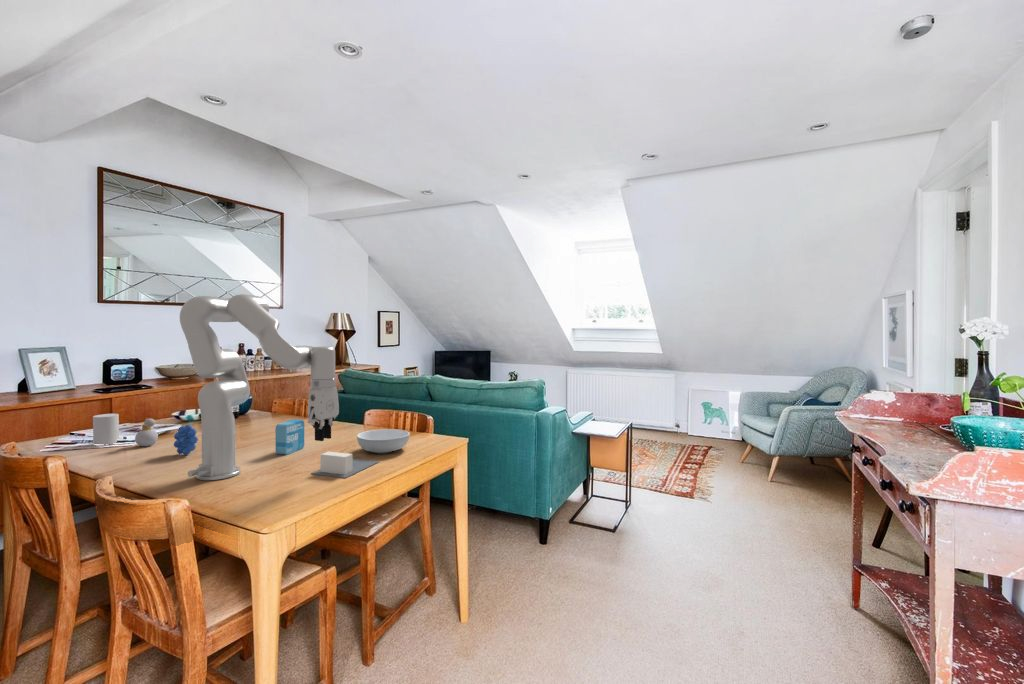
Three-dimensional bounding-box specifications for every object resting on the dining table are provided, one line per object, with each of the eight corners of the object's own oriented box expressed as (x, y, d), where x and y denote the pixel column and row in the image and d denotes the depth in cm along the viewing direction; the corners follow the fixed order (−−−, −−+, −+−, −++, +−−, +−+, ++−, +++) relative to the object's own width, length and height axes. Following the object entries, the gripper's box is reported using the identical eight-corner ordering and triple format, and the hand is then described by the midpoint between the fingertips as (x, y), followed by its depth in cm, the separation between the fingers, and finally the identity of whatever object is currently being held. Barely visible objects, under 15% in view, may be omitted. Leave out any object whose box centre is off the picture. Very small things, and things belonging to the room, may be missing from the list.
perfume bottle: (149, 443, 197) (148, 414, 196) (166, 444, 194) (166, 416, 194) (130, 447, 190) (130, 418, 189) (148, 449, 187) (148, 419, 187)
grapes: (207, 453, 181) (207, 423, 181) (190, 458, 175) (190, 426, 175) (186, 450, 185) (185, 421, 185) (168, 455, 179) (168, 424, 178)
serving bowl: (420, 448, 194) (420, 432, 194) (382, 460, 176) (382, 442, 175) (384, 441, 204) (384, 426, 204) (345, 452, 186) (345, 435, 186)
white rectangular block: (345, 474, 157) (345, 457, 157) (320, 471, 160) (320, 454, 160) (352, 471, 161) (352, 453, 161) (328, 468, 164) (328, 451, 164)
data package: (285, 455, 180) (285, 425, 180) (275, 455, 181) (275, 424, 181) (304, 448, 192) (304, 419, 192) (294, 447, 193) (294, 418, 193)
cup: (122, 443, 196) (121, 415, 196) (97, 447, 189) (97, 418, 189) (114, 440, 200) (114, 412, 200) (90, 444, 193) (89, 415, 193)
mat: (345, 478, 154) (345, 477, 154) (310, 473, 158) (310, 473, 158) (379, 462, 173) (379, 461, 173) (347, 458, 177) (347, 457, 177)
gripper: (315, 387, 144) (315, 446, 145) (348, 382, 160) (348, 435, 160) (295, 386, 146) (295, 444, 147) (330, 381, 162) (329, 433, 162)
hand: (323, 438), depth 154 cm, fingers open, 2 cm apart
